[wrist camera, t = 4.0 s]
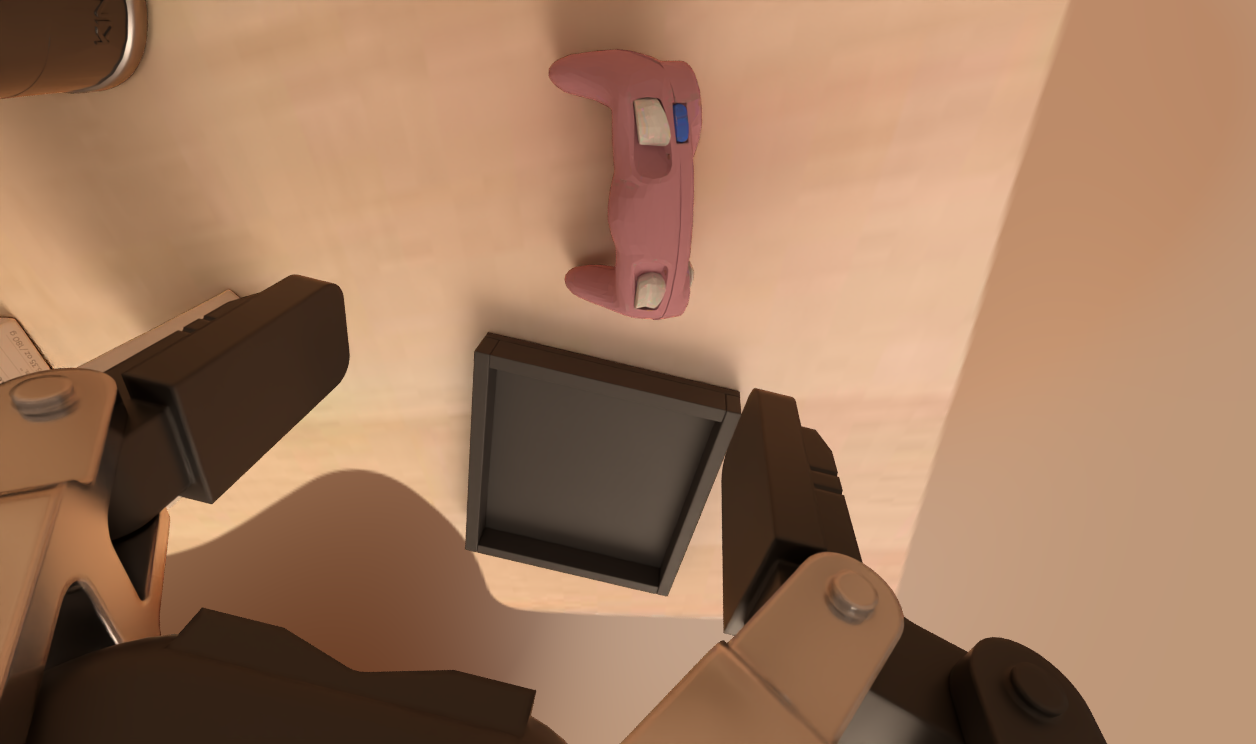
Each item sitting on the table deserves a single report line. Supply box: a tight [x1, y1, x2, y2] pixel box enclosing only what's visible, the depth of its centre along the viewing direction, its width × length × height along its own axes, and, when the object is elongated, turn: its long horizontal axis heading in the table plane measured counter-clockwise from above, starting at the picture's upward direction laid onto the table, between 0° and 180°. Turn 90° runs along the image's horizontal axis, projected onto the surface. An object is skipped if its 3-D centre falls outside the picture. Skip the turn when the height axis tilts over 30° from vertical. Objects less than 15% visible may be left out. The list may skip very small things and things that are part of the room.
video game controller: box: [549, 49, 702, 320], centre depth 21 cm, size 10×5×7 cm, turn 1°
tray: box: [465, 332, 741, 596], centre depth 32 cm, size 14×16×2 cm
